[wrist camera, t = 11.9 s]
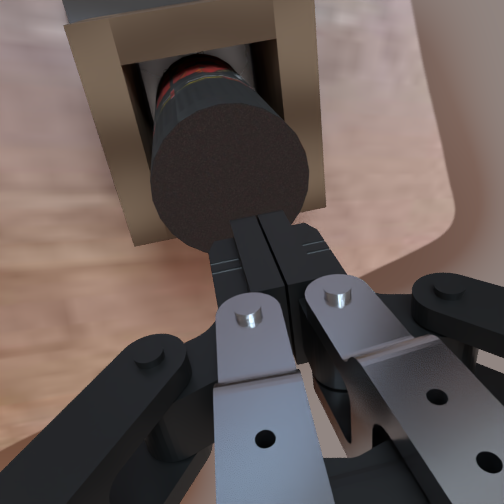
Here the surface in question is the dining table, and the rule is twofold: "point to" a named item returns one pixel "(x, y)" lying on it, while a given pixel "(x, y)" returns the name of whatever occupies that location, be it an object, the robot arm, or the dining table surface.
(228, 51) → the press platform
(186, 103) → the deodorant
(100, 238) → the dining table surface
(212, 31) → the sleeve holder
